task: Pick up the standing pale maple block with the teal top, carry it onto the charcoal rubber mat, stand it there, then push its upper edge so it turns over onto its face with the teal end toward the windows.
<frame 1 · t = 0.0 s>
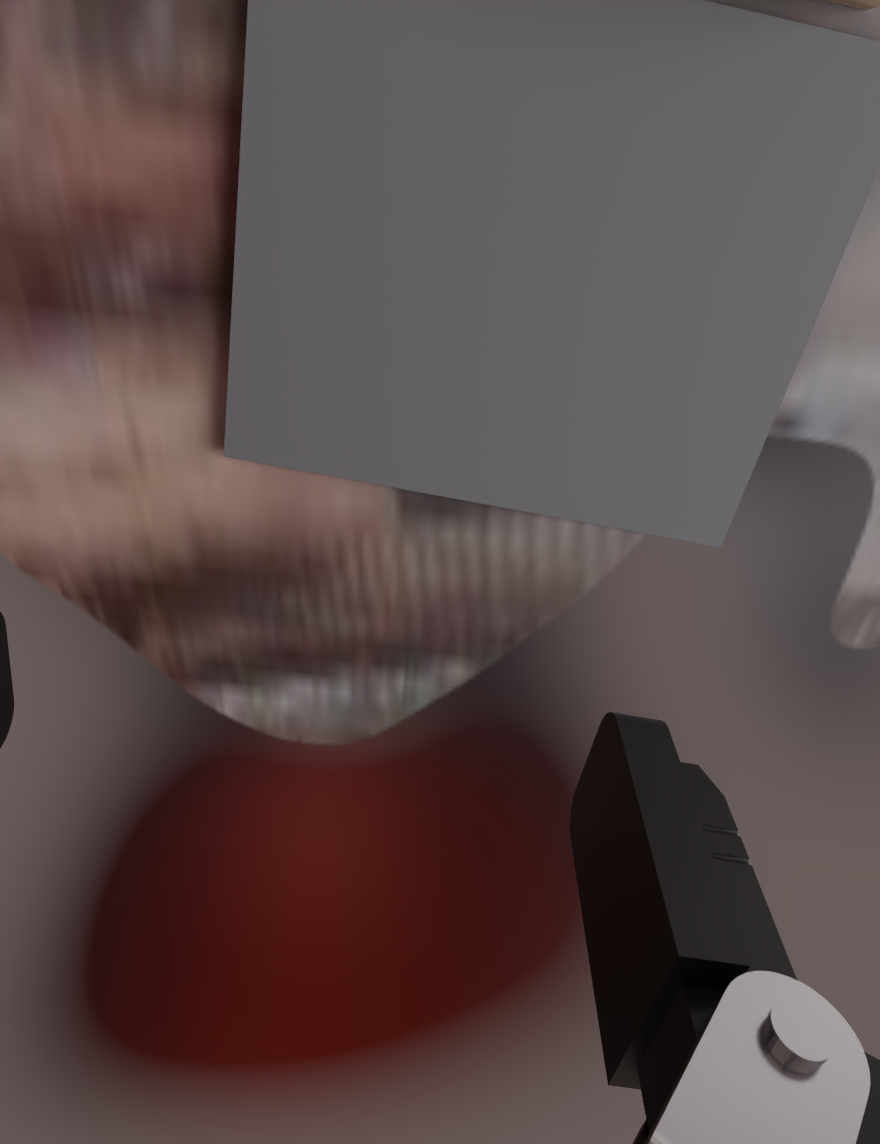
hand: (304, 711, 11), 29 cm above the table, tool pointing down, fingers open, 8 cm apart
mat: (528, 276, 35), on the table
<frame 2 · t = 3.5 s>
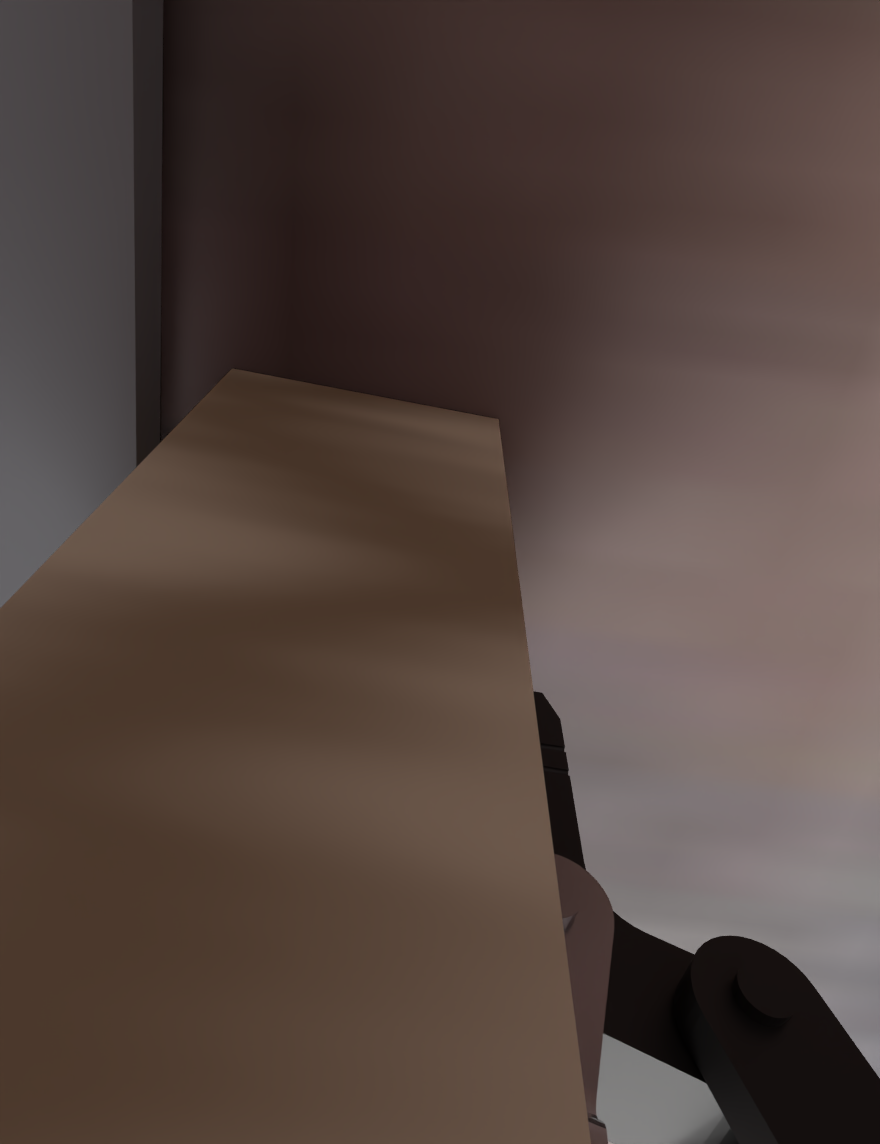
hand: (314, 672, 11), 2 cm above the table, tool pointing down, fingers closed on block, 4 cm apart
block: (338, 592, 13), on the table, touching gripper
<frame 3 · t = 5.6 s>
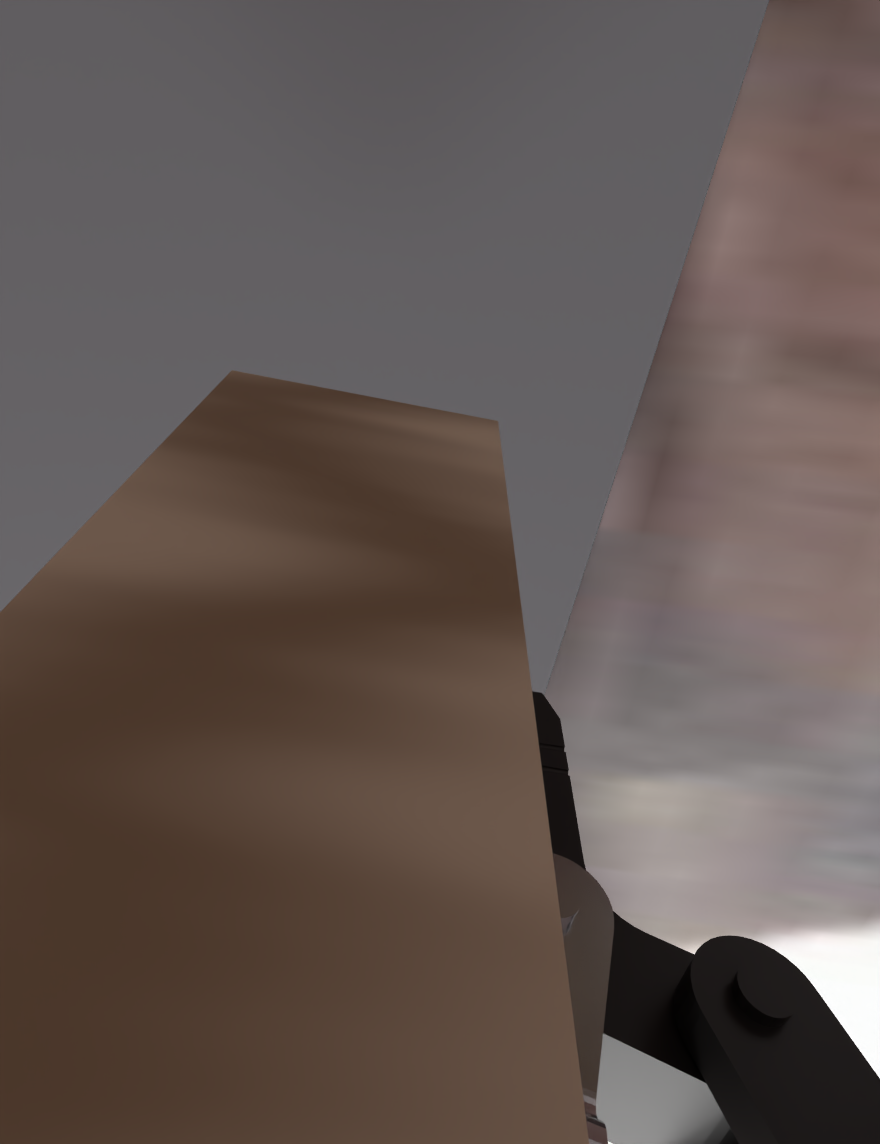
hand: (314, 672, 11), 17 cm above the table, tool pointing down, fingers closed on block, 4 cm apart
block: (338, 593, 13), point 15 cm above the table, touching gripper
mat: (308, 347, 26), on the table
when the fingers open (4 cm above the table, at t = 7.8 s): block stays where it is, resting on mat.
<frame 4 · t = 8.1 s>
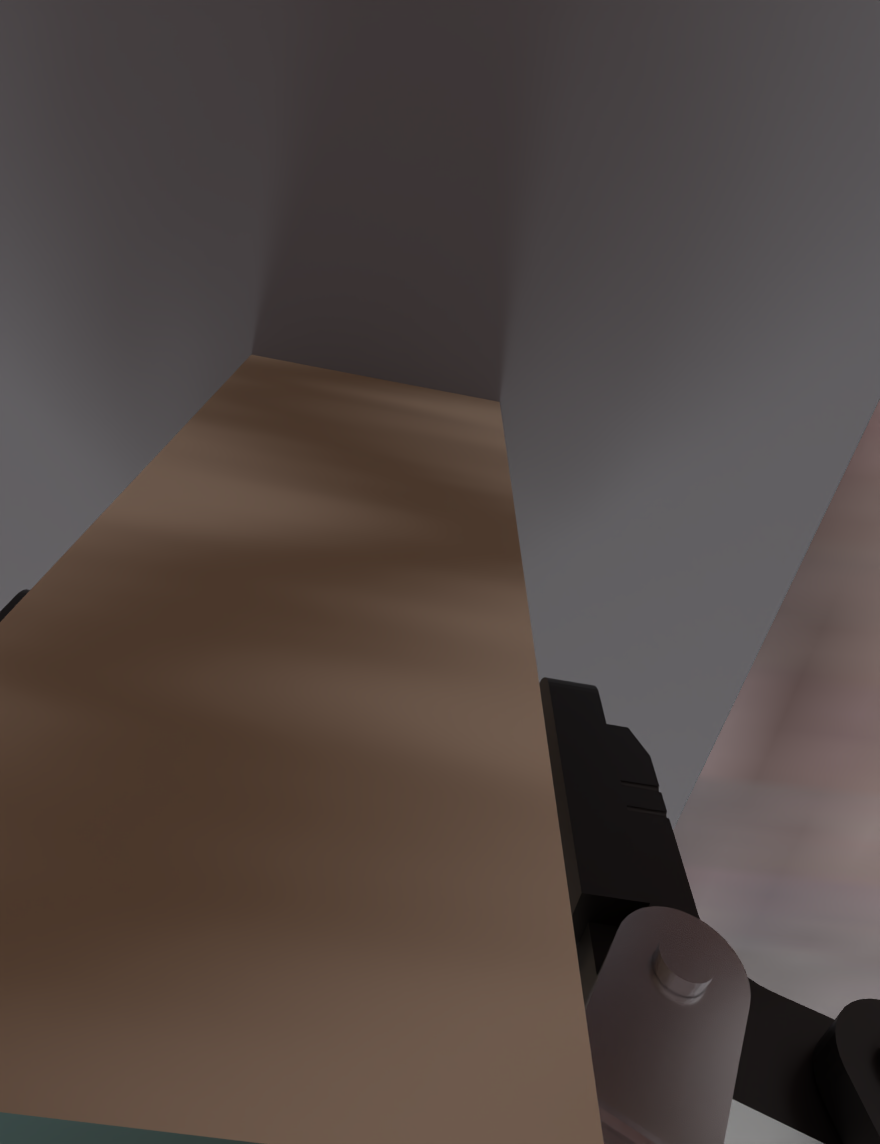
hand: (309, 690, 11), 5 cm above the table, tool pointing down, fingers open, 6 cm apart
block: (349, 566, 14), point 1 cm above the table, touching mat
mat: (193, 511, 15), on the table
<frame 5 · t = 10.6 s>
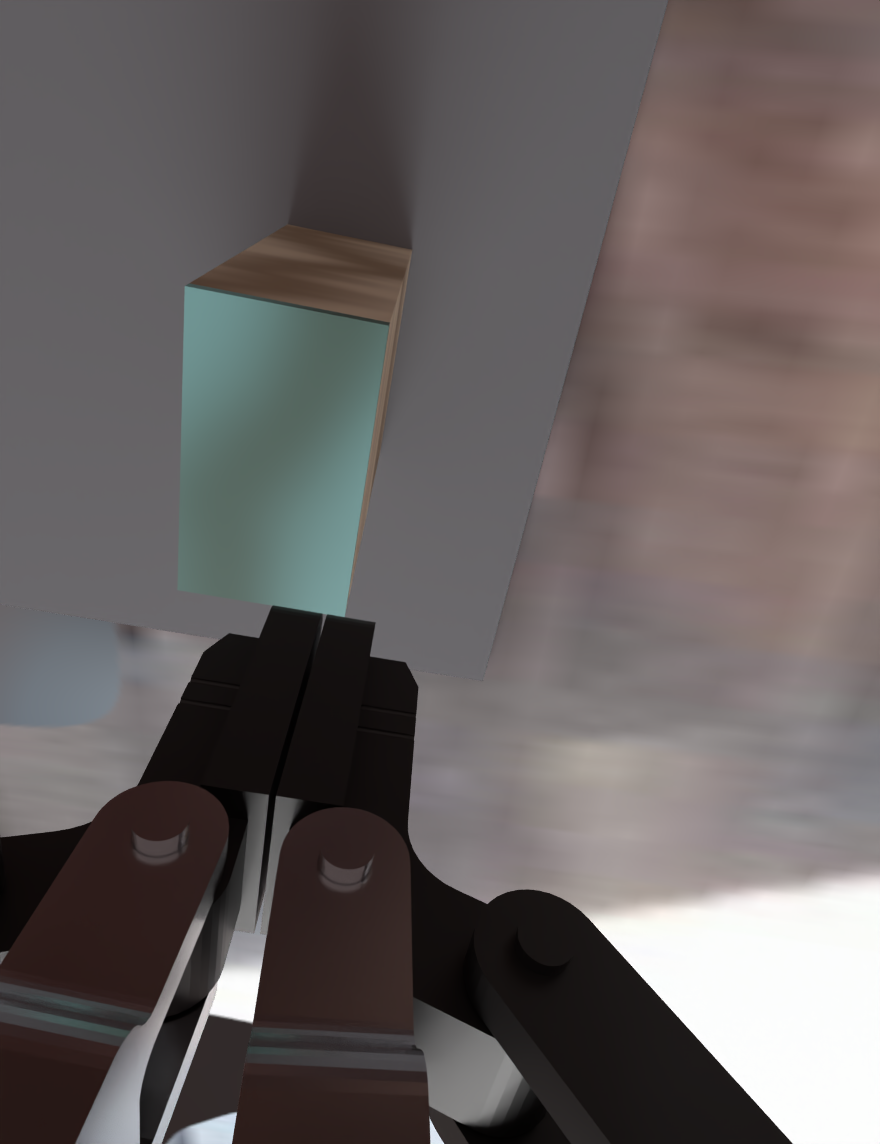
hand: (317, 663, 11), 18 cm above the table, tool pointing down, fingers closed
block: (337, 346, 26), point 1 cm above the table, touching mat
mat: (252, 321, 27), on the table
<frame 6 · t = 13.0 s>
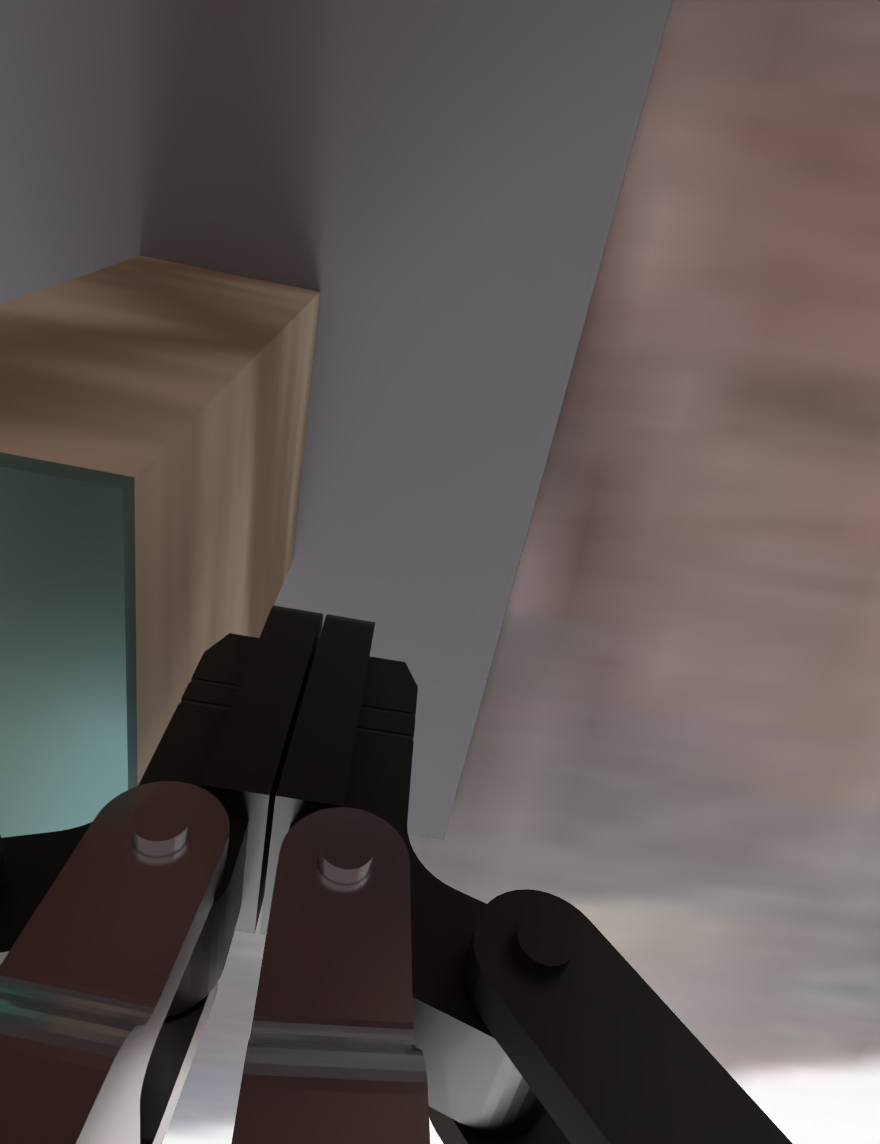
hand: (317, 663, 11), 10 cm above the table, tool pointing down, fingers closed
block: (222, 424, 19), point 1 cm above the table, touching gripper, mat
mat: (110, 386, 20), on the table
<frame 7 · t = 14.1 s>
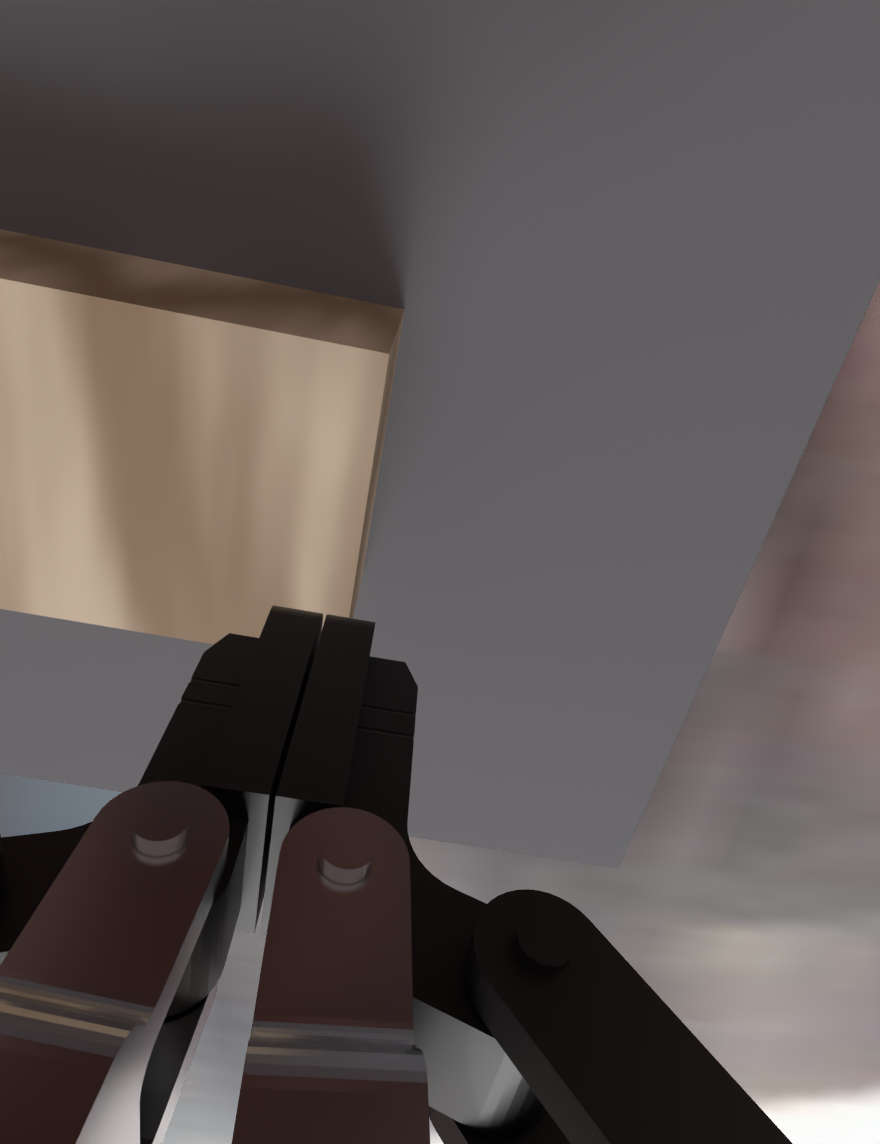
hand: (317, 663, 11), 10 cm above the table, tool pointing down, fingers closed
block: (373, 487, 17), point 3 cm above the table, tilted 90°, touching mat
mat: (345, 432, 20), on the table
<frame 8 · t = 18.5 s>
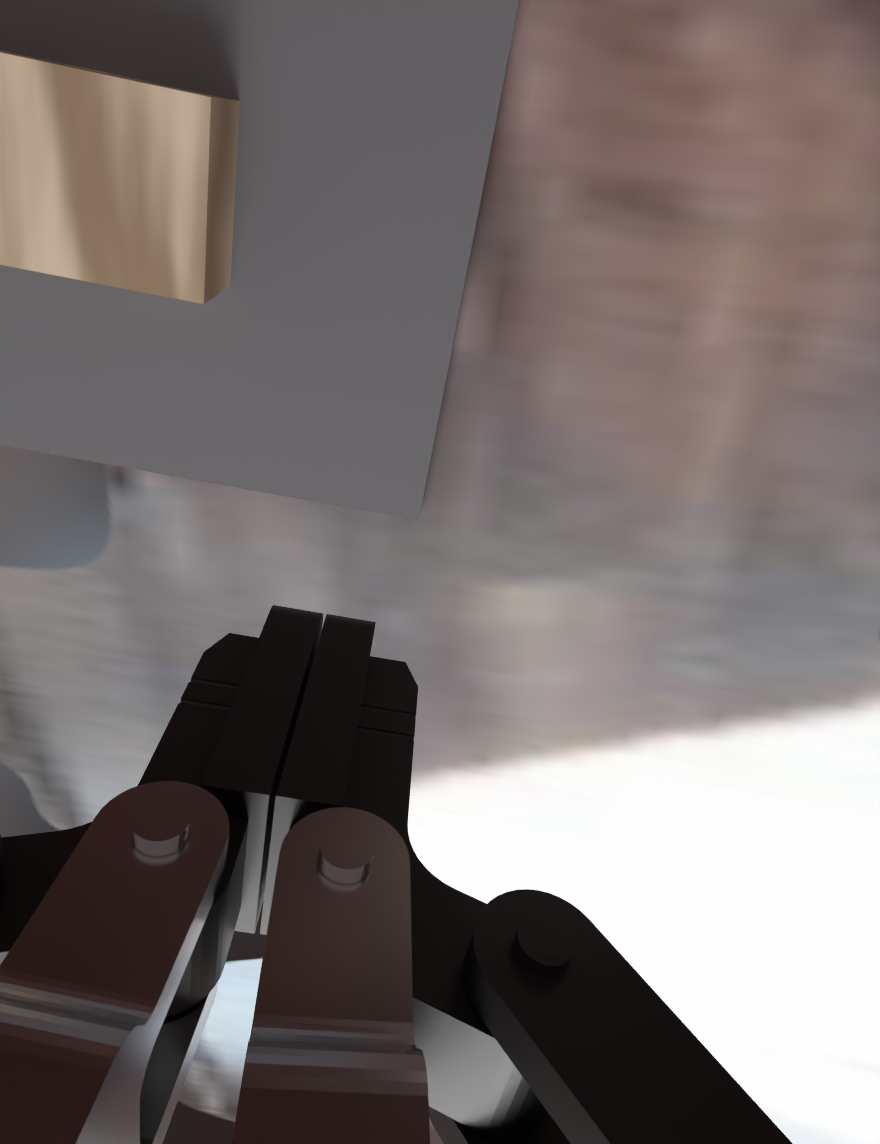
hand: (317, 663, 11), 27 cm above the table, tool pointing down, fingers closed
block: (221, 202, 30), point 3 cm above the table, tilted 90°, touching mat
mat: (216, 191, 33), on the table
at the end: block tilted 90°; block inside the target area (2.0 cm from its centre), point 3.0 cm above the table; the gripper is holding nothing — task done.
